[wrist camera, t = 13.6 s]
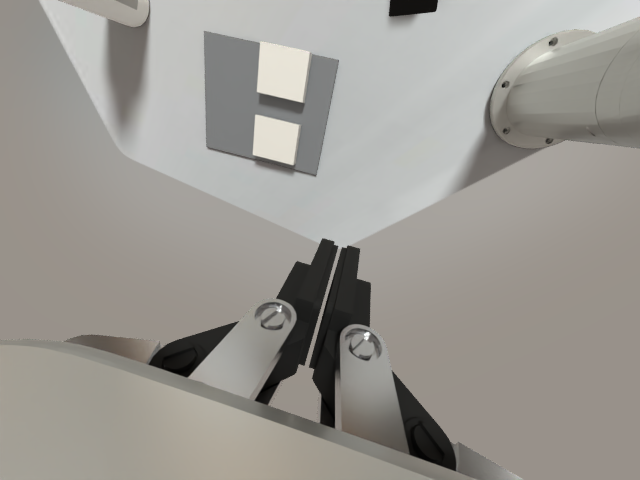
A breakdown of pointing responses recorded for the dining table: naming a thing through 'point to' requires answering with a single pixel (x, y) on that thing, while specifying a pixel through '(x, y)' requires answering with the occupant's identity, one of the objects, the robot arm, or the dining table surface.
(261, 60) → the tile
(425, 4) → the black slotted bracket
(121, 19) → the spray bottle
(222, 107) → the mat
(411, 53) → the dining table surface
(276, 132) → the tile
